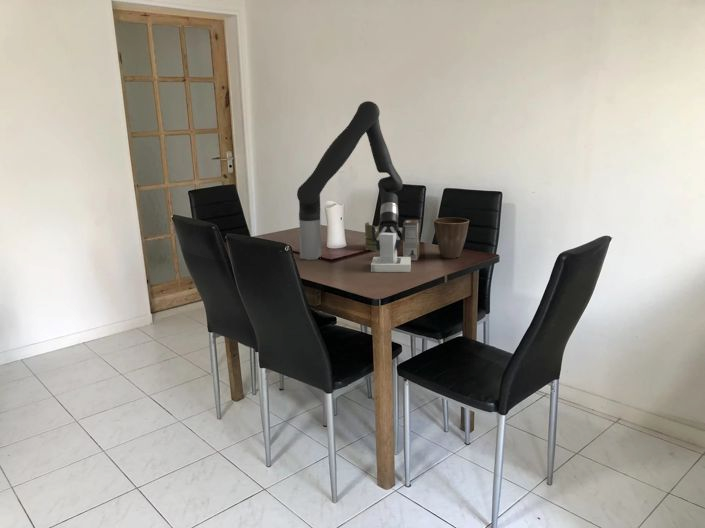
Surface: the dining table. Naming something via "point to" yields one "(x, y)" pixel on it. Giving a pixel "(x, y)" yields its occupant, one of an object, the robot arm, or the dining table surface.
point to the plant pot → (451, 235)
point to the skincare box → (388, 248)
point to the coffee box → (411, 239)
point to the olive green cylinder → (370, 237)
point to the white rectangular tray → (391, 265)
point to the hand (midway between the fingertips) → (388, 249)
